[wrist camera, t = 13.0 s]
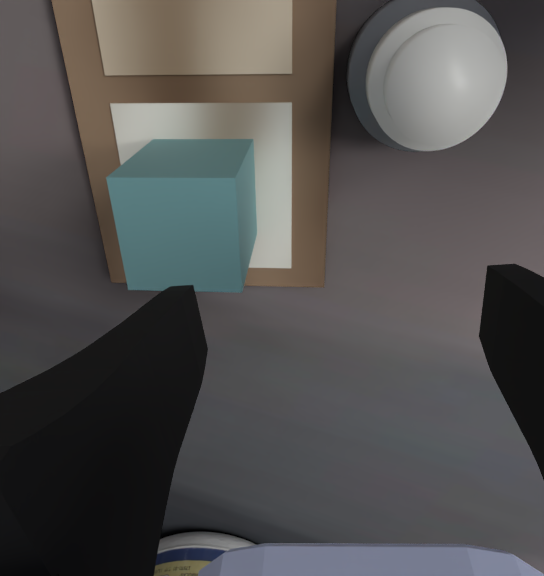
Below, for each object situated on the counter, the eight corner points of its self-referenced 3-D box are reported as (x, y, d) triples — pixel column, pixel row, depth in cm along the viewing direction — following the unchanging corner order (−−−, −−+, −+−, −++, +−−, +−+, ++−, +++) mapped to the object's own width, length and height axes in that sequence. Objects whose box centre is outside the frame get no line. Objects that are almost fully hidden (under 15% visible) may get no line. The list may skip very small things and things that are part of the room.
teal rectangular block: (257, 233, 21) (242, 292, 16) (166, 232, 21) (128, 290, 17) (253, 139, 19) (235, 177, 14) (153, 139, 19) (106, 177, 15)
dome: (504, 6, 15) (536, 5, 12) (478, 140, 17) (502, 159, 14) (371, 8, 15) (380, 8, 13) (361, 140, 17) (367, 159, 15)
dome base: (500, -12, 16) (520, -14, 15) (471, 139, 19) (486, 152, 17) (350, -8, 17) (354, -10, 15) (342, 139, 19) (345, 151, 18)
